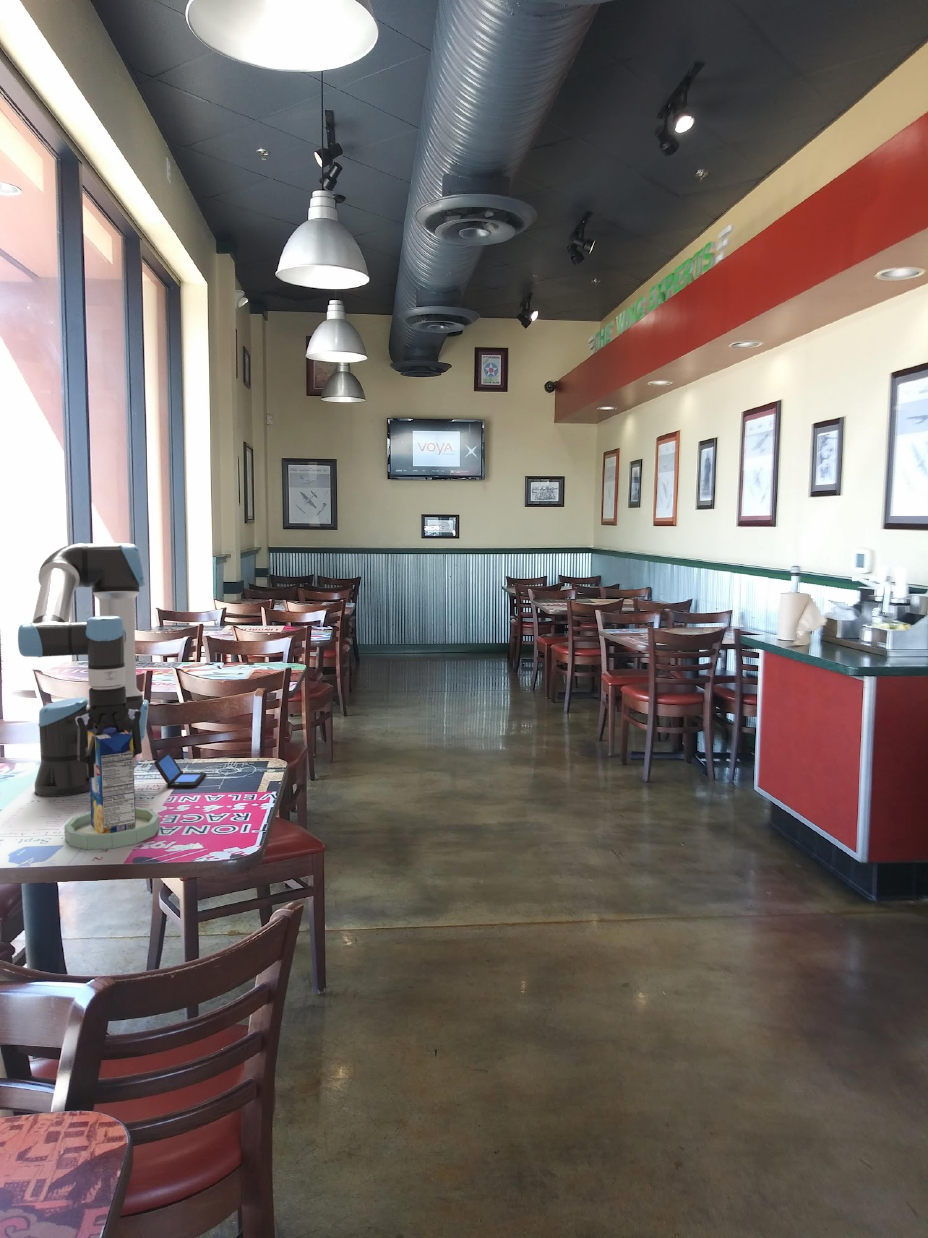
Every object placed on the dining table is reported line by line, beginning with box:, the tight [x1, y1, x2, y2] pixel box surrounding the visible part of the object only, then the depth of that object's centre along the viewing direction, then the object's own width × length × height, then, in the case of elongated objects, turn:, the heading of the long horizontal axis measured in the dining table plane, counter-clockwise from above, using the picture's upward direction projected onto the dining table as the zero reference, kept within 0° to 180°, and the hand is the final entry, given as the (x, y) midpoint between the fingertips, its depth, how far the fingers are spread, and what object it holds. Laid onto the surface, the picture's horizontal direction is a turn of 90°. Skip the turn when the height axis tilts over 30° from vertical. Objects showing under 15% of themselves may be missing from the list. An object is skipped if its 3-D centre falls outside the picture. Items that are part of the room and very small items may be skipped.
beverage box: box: [88, 728, 136, 833], centre depth 190 cm, size 7×11×22 cm, turn 36°
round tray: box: [64, 806, 161, 850], centre depth 191 cm, size 19×19×3 cm
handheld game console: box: [153, 751, 207, 789], centre depth 230 cm, size 12×11×7 cm
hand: (111, 788), depth 190 cm, fingers open, 6 cm apart
